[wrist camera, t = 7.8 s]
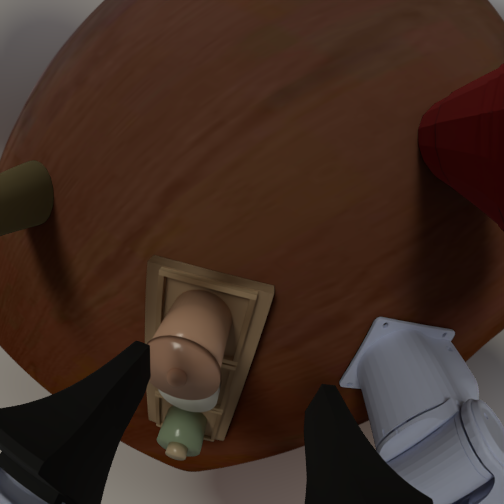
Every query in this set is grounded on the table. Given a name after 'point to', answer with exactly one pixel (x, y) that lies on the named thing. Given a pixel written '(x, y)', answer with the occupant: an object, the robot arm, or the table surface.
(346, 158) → the table surface
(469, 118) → the plastic cup
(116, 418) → the robot arm
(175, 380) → the spice jar
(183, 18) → the table surface
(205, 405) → the white rounded disc
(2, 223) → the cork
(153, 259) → the tray
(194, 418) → the green jar
